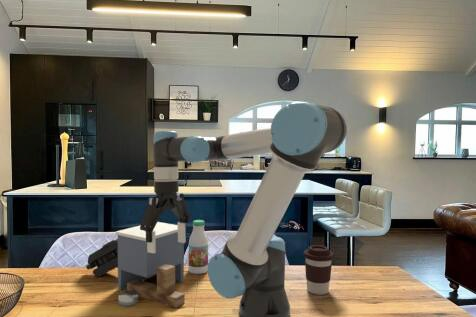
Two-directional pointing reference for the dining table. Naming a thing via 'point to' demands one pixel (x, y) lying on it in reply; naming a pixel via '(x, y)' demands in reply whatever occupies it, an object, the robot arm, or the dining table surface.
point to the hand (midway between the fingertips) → (167, 247)
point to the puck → (128, 298)
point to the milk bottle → (198, 249)
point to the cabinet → (144, 263)
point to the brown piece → (160, 287)
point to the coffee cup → (318, 269)
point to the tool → (104, 258)
